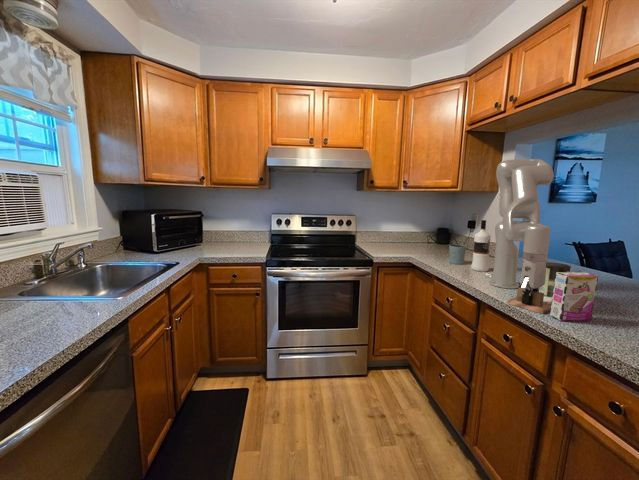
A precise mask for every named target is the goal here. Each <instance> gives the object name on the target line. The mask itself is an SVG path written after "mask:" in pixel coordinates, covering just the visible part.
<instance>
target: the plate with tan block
mask: <svg viewBox="0 0 639 480" xmlns="http://www.w3.org/2000/svg"><path fill="white" fill-rule="evenodd" d="M516 289H517V290H516V296H515V297H512V298H511V299H508V300H507V305H511V306H513V307H517V308H521V309H523V310H524V309H525V310H528V311H530V312H535V313H538V314H542V315H544V314H545V313H548V312H550V311H551V306H549V305H545V304H543V300H544V293H541V292H537V291H532V296H533V298H532V305H531V306H529V305H526V304H522V289H521V287H519V288H516ZM529 291H530V289H529Z"/></svg>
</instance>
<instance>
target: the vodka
mask: <svg viewBox="0 0 639 480" xmlns="http://www.w3.org/2000/svg"><path fill="white" fill-rule="evenodd" d="M486 226H487V219H482V220H481V222H480V231H478V232H477V233H475V234H474V236H473V237H474V239H473V241H474V242H473V244H474V245H473V252H472V261H471V265H470V268H471V270H472V271H474V272H482V273H485V272H486V273H487V272H489V269H490V267H489V258H490V257H489V256H490V254H489V253H490V245H491V238H492V237H491V234H489V233H488V232H487V231H486V230H487V229H486V228H487V227H486Z"/></svg>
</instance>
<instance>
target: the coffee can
mask: <svg viewBox="0 0 639 480" xmlns="http://www.w3.org/2000/svg"><path fill="white" fill-rule="evenodd" d="M571 268H572V266H571V265H569V264H564V263H561V262H560V263H559V262H552V261H551V262H548V261H547V263H546V277H545V285H544V286H541V287H540V288H539V292H541V293H544V297H548V298H552V297H553V290H554V283H555V276H556V272H571Z"/></svg>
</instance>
